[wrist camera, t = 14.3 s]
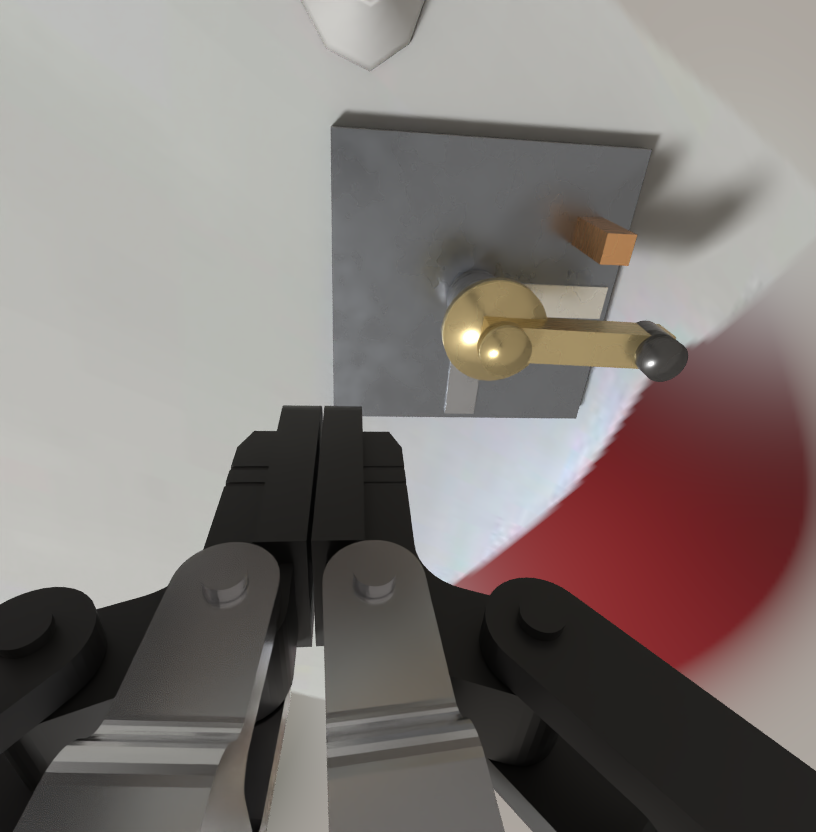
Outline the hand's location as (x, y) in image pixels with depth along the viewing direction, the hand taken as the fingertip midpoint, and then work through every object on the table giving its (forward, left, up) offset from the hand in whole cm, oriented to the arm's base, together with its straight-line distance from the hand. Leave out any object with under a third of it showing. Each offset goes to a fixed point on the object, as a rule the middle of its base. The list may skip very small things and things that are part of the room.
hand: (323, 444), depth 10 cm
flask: (-11, +1, -31) cm, 33 cm away
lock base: (+7, +10, -31) cm, 33 cm away
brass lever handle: (+7, +14, -24) cm, 29 cm away
